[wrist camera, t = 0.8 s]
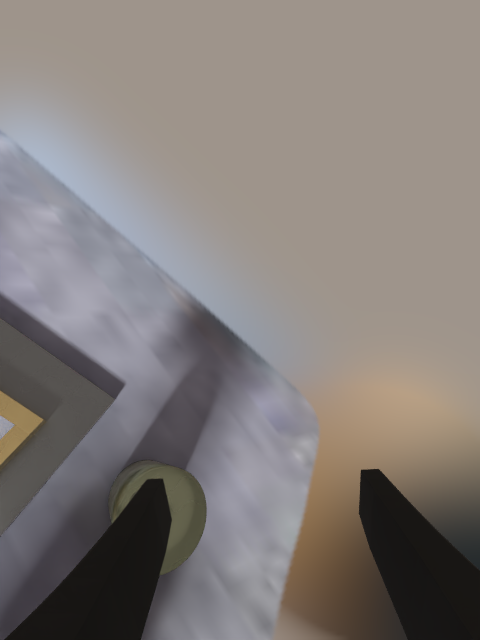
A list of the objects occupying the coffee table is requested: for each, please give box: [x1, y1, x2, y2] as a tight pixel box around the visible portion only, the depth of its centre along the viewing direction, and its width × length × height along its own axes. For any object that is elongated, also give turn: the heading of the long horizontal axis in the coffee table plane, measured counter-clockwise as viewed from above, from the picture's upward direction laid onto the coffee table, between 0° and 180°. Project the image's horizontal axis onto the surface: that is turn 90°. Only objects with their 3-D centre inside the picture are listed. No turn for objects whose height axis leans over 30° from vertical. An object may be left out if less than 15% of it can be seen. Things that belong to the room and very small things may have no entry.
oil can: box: [108, 460, 206, 575], centre depth 17 cm, size 5×5×10 cm
